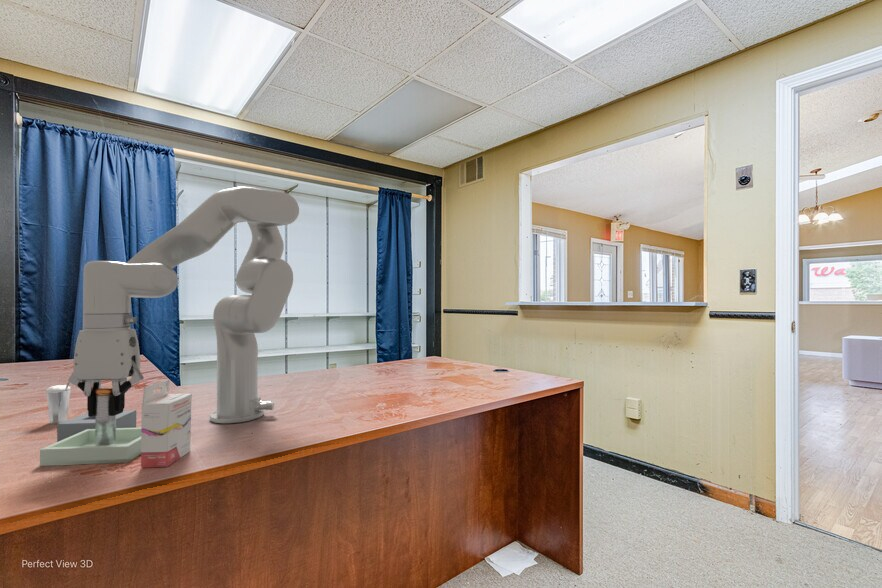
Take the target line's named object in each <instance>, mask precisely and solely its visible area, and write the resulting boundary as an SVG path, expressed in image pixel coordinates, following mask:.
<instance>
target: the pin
mask: <svg viewBox="0 0 882 588" xmlns="http://www.w3.org/2000/svg"><path fill="white" fill-rule="evenodd" d="M95 395H96V418H95V446H104V445H111V444H114V443H115V442H116V415H115V416H110V396H112V395H113V389H112V386H104V387H100V388H98V389H96V394H95Z"/></svg>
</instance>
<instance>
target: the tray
mask: <svg viewBox="0 0 882 588" xmlns="http://www.w3.org/2000/svg"><path fill="white" fill-rule="evenodd" d="M141 428H142V426H139V427H135V428H116V442H115V443H114V444H111V445H104V446H95V429H86V430H84V431H82V432H79V433H77V434H75V435H73V436H70V437H68V438H66V439H63V440H61V441H59V442H57V441H56V442H55V443H52V444H50V445H48V446H45V447H43V448H40V449H39V467H42V466H44V467H46V466H47V467H48V466H68V465H69V466H70V465H71V466H73V465H74V466H75V465H94V464H95V465H96V464H117V463H119V464H122V463H124V464H125V463H129V462H131V461H133V460H134V459H135V458H137V457H139V456H141Z"/></svg>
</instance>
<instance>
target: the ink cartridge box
mask: <svg viewBox="0 0 882 588" xmlns="http://www.w3.org/2000/svg"><path fill="white" fill-rule="evenodd" d="M169 387H170V379H165V380H161V381H159V382H155V383H152V384H150V385H147V386H145V387H143V388H144V389H143V394H142V403H141V427H142V428H141V454H140V467H141V468H167V467H169V466H171V465H172V464H174V463H175V462H176V461H178V460H180V459H181V458H182V457H183V456H185V455H187V454H188V453H190V451H191V440H192V439H191V437H192V436H191V435H192V396H193V393H169ZM157 388H158V389H160V390H159V391H156V392H154V391H155V390H156V389H157Z"/></svg>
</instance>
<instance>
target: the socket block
mask: <svg viewBox="0 0 882 588" xmlns="http://www.w3.org/2000/svg"><path fill="white" fill-rule="evenodd" d="M95 418H96V415H95V416H92V417H89V416H88V412H85V413H83V414H80V415H77V416H75V417H72V418H69V419H67V421H64V422H61V423H58V424H57V425H56V426H57V427H56V429H57V430H56V431H57V433H56V434H57V435H56V436H57V437H56V440H57V441H56V442H59V441H61V440H63V439H66V438H68V437H70V436H73V435H75V434H77V433H79V432H82V431H84V430H86V429H95ZM116 428H137V410H136V409H127V410H124V409H123V412H122V413H120V414H118V415H116Z"/></svg>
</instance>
